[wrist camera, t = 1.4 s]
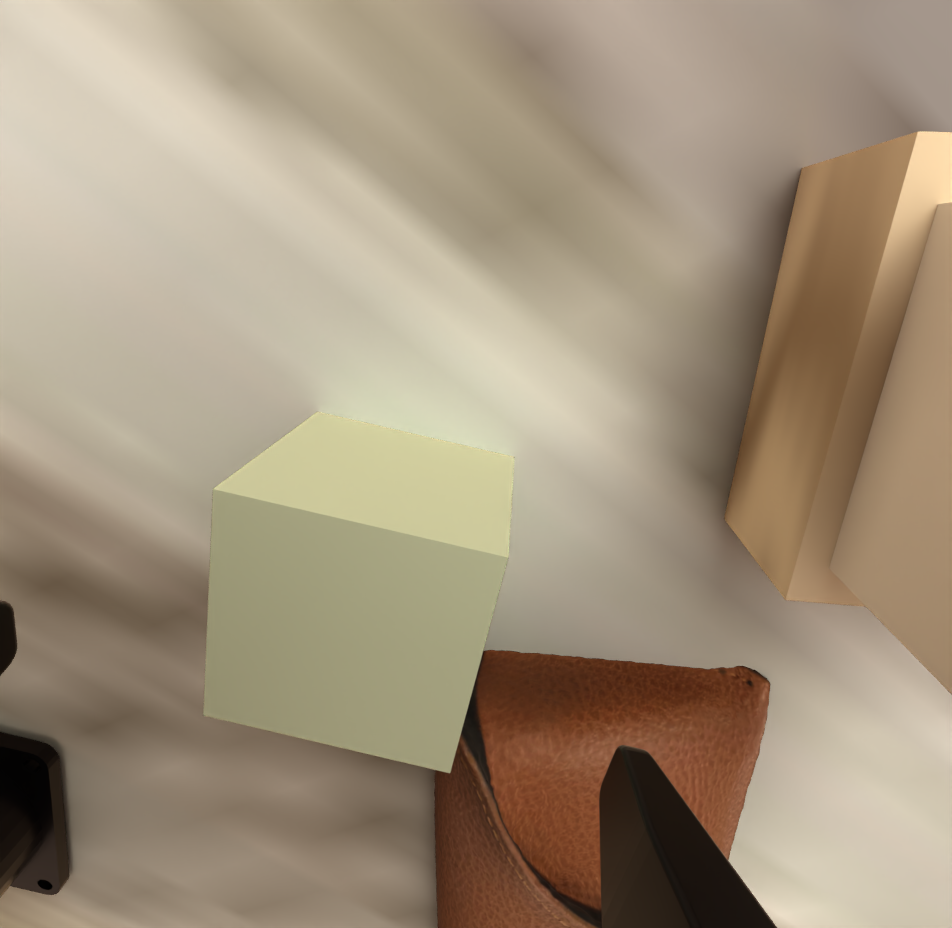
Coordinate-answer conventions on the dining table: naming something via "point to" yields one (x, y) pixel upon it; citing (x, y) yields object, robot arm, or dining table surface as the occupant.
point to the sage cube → (356, 587)
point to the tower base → (831, 353)
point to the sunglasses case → (578, 776)
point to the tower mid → (910, 476)
